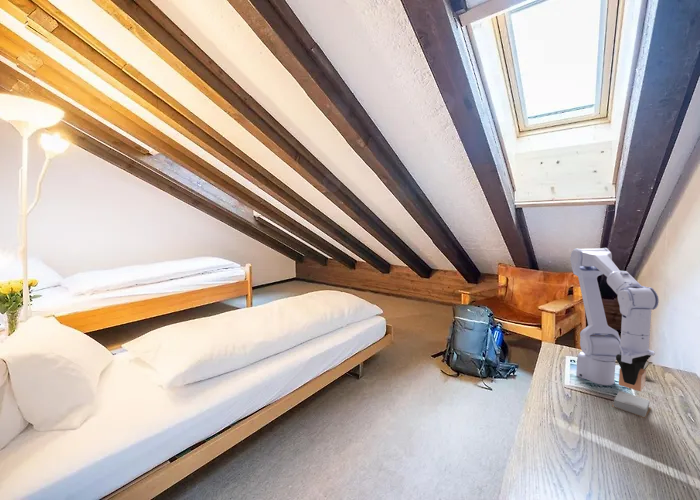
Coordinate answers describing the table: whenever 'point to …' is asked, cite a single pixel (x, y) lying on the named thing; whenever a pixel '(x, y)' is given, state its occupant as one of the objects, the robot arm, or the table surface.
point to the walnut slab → (636, 414)
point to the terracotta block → (639, 383)
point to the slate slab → (631, 403)
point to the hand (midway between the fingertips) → (632, 380)
